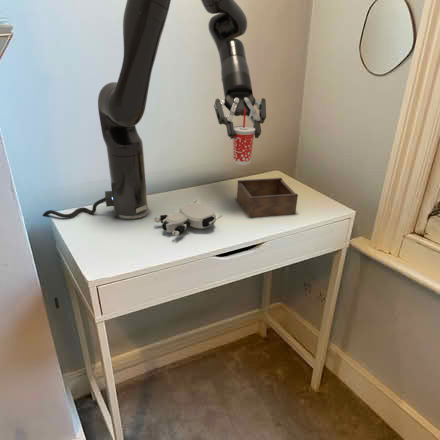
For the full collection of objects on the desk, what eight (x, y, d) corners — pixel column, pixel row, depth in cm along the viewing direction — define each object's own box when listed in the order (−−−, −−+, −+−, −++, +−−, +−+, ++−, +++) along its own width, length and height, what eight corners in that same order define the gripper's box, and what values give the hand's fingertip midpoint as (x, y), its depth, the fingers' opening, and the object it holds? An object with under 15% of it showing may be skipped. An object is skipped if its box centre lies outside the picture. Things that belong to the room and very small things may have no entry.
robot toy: (176, 246, 109) (224, 228, 115) (174, 230, 106) (223, 212, 113) (152, 228, 117) (198, 212, 124) (150, 213, 114) (197, 197, 121)
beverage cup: (227, 159, 121) (229, 106, 113) (248, 158, 122) (251, 105, 114) (235, 166, 116) (237, 111, 108) (256, 165, 117) (260, 110, 109)
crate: (249, 217, 122) (250, 198, 119) (236, 198, 133) (237, 180, 130) (295, 214, 125) (298, 194, 121) (279, 195, 136) (281, 177, 132)
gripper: (212, 69, 111) (221, 129, 108) (265, 70, 114) (275, 128, 111) (207, 88, 118) (215, 145, 116) (258, 88, 121) (267, 143, 119)
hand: (245, 136), depth 114 cm, fingers closed on beverage cup, 6 cm apart
